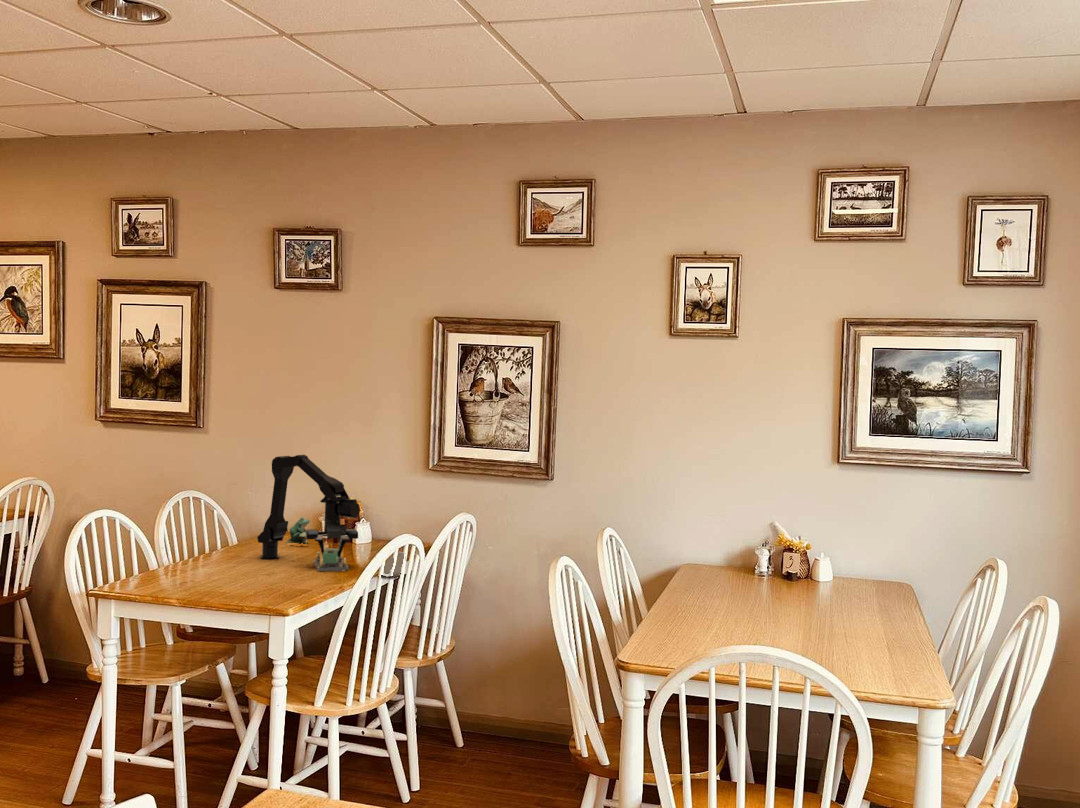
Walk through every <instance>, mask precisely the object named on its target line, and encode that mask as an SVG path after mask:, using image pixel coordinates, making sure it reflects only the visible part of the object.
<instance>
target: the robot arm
mask: <svg viewBox="0 0 1080 808" xmlns="http://www.w3.org/2000/svg"><path fill="white" fill-rule="evenodd" d="M295 467H297V468H300V470H301V471H303V472H304V473H305V474H306V475H307V476H308V477H309V478H310V479H312V480H313V481H314V482H315V483H316V484H317V486H318V488H319V491H320V492H321V494H323V496H324V497H323V498H321V500H320V501H319V502H320V503H323V504H325V505H324V527H323V531H319V530H318V529H316V528H315V529H312V528H311V529H310V528H308V529H306V537H305V538H307V539H306V540H314V541H315V542H318V546H319V548H320V554H321V556H322V557H323V552H324V551H325V547H324V539H323V537H324V538H325V537H327V538H328V539H339V545H338V549H339V552H338V557H340V555H341V552H342V553H343V550H344V548H345V547H344V546H345V545H346V543H347V542H349V541H351V539H352V540H353V539H354V540H355V539H359V532H358V531H357V529H356V528H347V524H341V517H343V518H351V519H356V518H357V517H358V516H359V515H360V512H361V508H360V505H359V503H358V500H357V499H356V498H353V499H351V498H350V497H349V494H348V492H347V491H346V489H345V485H344V483H343V482H342V481H340V480H339V479H336V478H335V477H332V476H329V475H328V474H326V473H325V472H324V470H322V469H321V468H320V467H319V466H318V465H316V463H314V462H313V461H312V460H311V459H309V456H308V455H306V454H296V455H294V456H293V455H292V456H291V455H281V456H279V455H278V456H275V457H274V458H273V459H272V460H271V472H272V475H273V478H274V479H273V480H274V483H273V491H272V498H271V505H270V514H269V516H268V518H267V519H266V521H265V523H264V526H263V530H262V531H261V532H260V534H259V535H258V536H256V538H257V542H258V543H259V544H262V551H261V553H262V554H260V559H261V558H262V559H261V560H266V559H267V558H268V559H267V560H270V559H269V558H279V559H280V556H279V554H278V552H279V542H282V541H283V540H284V537H285V535H286V534H287V532H288V527H289V526H288V525H289V520H286V519H285V516H284V515H285V508H286V507H285V504H286V499H287V498H286V497H287V491H288V483H289V482H288V481H289V478H290V477H291V476H292V474H293V473H294V469H295Z"/></svg>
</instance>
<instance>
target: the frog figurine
mask: <svg viewBox="0 0 1080 808" xmlns="http://www.w3.org/2000/svg"><path fill="white" fill-rule="evenodd" d="M310 521H311V520H310V519H307V518H304V517H303V516H302V517H300V518H299V520H297V521H296V522H295V524H293V526H291V527H290V528H289V534H290V538H288V539H287V540H286V542H285V544H286V543H298V544H301V543H303V544H306V543H307V541H308V542H309V539H307V538H306V530H307V529H306V527H307V525H309V524H310Z"/></svg>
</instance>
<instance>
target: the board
mask: <svg viewBox="0 0 1080 808" xmlns="http://www.w3.org/2000/svg"><path fill="white" fill-rule="evenodd" d="M338 552H339V548H330V547H329V548H324V552H323V556H322V558H324V560H323V563H337V561H338V559H339V557H338Z"/></svg>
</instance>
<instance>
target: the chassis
mask: <svg viewBox="0 0 1080 808" xmlns="http://www.w3.org/2000/svg"><path fill="white" fill-rule="evenodd" d="M342 556H343V551H342V552H341V555H340V557H339V559H338V561H337V563H323V560H324V558H321V551H316V558H313V564H314V563H315V564H314V566H316V567H315V568H317V569H316V571H317V570H318V571H337V572H343V571H342V570H349V569H350V566H349V565H348V563H347V557H342ZM318 571H317V572H318ZM349 571H350V570H349Z"/></svg>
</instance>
